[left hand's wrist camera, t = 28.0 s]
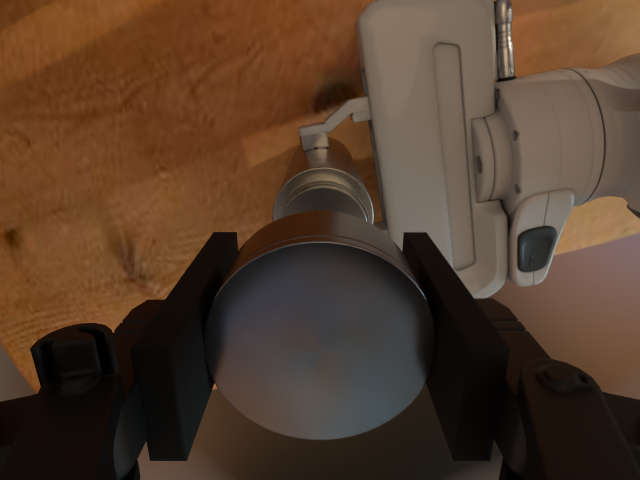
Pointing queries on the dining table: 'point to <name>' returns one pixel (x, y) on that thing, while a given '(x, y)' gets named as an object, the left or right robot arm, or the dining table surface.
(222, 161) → the dining table surface
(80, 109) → the dining table surface
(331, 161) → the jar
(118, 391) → the left robot arm
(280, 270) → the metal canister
